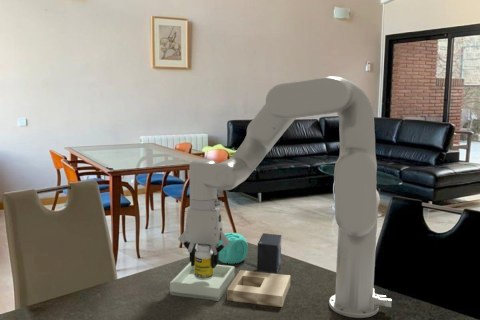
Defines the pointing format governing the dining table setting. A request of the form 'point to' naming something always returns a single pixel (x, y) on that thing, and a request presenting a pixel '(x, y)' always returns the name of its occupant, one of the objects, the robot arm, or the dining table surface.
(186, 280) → the tray
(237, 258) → the decorative dice
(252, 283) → the beige flat square frame
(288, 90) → the robot arm
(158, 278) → the dining table surface
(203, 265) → the supplement bottle
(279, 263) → the small box
